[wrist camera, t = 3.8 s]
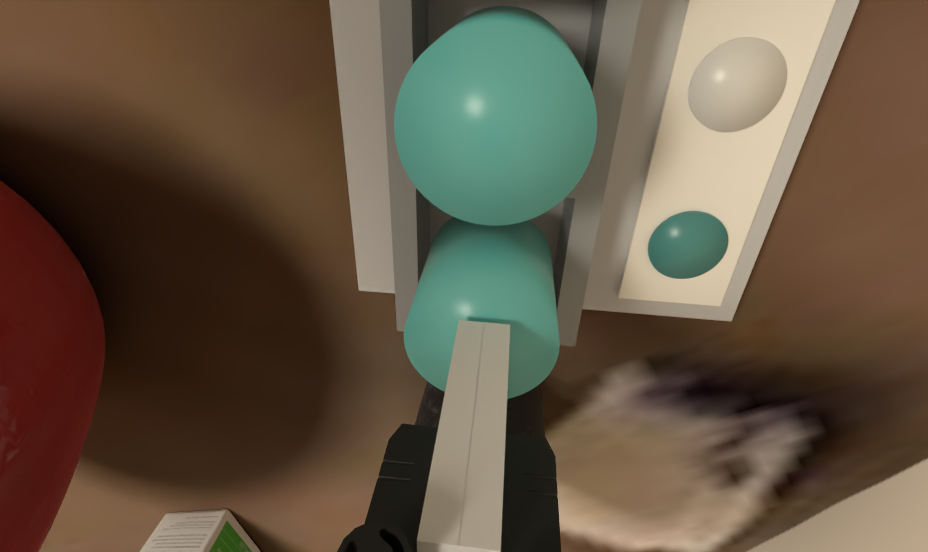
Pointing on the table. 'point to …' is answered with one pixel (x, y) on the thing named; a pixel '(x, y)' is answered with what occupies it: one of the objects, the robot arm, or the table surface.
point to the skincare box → (199, 533)
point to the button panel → (611, 143)
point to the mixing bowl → (42, 371)
